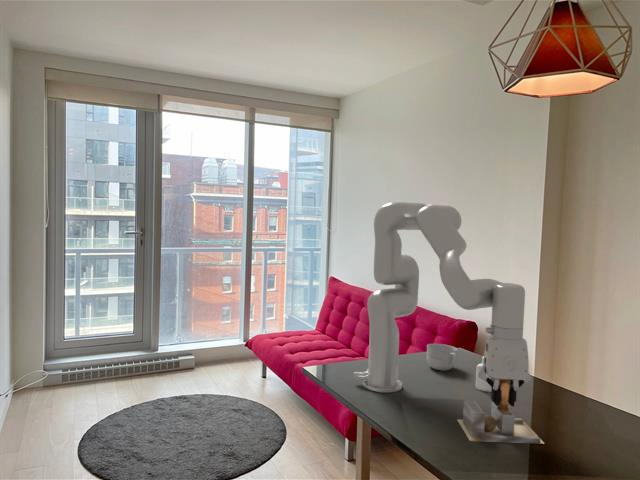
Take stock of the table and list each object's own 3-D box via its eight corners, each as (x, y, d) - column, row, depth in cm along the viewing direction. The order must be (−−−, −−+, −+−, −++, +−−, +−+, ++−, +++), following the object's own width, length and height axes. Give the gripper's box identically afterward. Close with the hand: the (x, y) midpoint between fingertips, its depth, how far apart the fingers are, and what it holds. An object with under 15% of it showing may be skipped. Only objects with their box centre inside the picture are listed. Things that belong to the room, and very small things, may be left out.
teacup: (421, 363, 180) (422, 342, 180) (448, 362, 182) (449, 342, 182) (437, 376, 167) (438, 353, 166) (466, 375, 169) (467, 353, 168)
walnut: (483, 434, 121) (481, 419, 120) (478, 427, 125) (476, 412, 124) (499, 433, 121) (497, 417, 120) (493, 425, 125) (492, 411, 124)
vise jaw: (501, 436, 119) (504, 382, 118) (490, 422, 127) (493, 372, 126) (513, 437, 119) (516, 383, 118) (502, 423, 127) (504, 372, 126)
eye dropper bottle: (486, 393, 152) (488, 356, 151) (473, 387, 157) (474, 351, 156) (496, 391, 154) (498, 354, 153) (482, 385, 159) (484, 350, 158)
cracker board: (469, 446, 117) (471, 416, 116) (456, 424, 129) (458, 397, 128) (544, 449, 116) (546, 419, 116) (524, 427, 128) (525, 399, 128)
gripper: (478, 335, 117) (475, 408, 119) (546, 337, 117) (542, 411, 118) (469, 328, 125) (466, 397, 126) (533, 330, 125) (529, 399, 126)
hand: (503, 403), depth 122 cm, fingers closed on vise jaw, 3 cm apart
